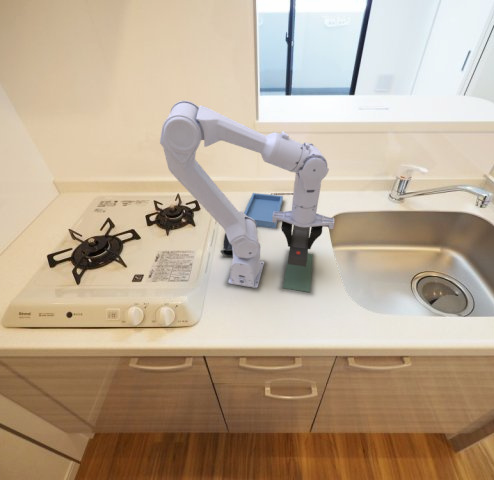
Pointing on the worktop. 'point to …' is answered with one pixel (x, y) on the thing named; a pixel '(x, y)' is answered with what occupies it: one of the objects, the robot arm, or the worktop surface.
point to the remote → (299, 246)
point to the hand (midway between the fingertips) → (299, 245)
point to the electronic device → (227, 248)
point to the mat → (299, 276)
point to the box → (263, 209)
